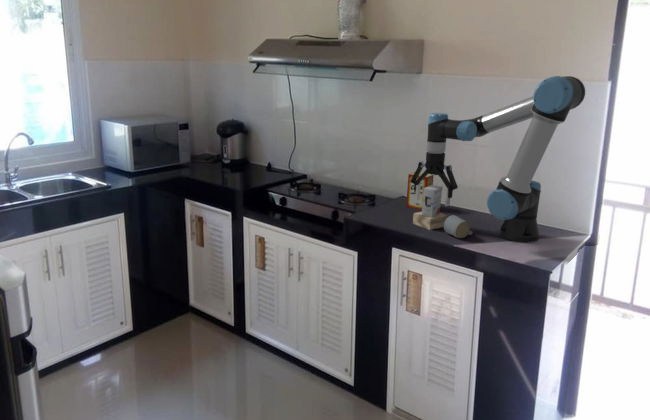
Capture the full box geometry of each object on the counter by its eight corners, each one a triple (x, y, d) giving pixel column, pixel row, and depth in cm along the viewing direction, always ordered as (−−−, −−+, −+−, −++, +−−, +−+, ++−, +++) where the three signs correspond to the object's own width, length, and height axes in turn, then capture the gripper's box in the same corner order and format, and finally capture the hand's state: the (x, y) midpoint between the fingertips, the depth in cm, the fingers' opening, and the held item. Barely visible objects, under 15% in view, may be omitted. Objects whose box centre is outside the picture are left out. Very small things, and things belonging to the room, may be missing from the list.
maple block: (446, 227, 231) (447, 215, 230) (429, 230, 226) (430, 219, 224) (429, 220, 239) (430, 209, 238) (412, 224, 234) (413, 212, 232)
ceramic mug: (455, 240, 214) (458, 221, 212) (442, 234, 221) (444, 215, 219) (476, 237, 218) (479, 218, 216) (463, 231, 225) (465, 213, 223)
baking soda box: (431, 207, 259) (433, 174, 254) (424, 210, 254) (427, 176, 249) (413, 204, 264) (415, 171, 260) (406, 206, 259) (408, 173, 255)
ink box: (429, 211, 235) (431, 184, 232) (440, 213, 233) (443, 186, 230) (420, 215, 228) (423, 187, 225) (432, 217, 226) (434, 189, 223)
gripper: (468, 154, 219) (464, 205, 225) (412, 147, 234) (410, 196, 239) (460, 156, 213) (456, 209, 219) (404, 149, 228) (401, 199, 234)
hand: (432, 202), depth 229 cm, fingers open, 13 cm apart
